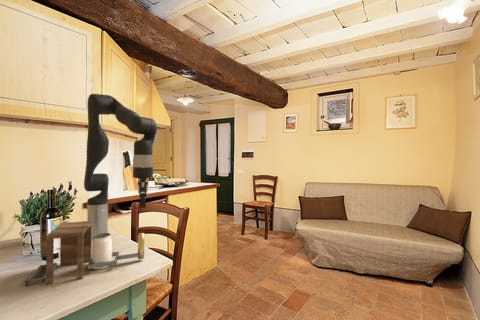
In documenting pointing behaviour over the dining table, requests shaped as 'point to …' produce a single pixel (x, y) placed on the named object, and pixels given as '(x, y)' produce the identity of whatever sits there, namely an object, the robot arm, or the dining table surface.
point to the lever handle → (109, 263)
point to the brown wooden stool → (70, 246)
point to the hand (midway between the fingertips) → (142, 205)
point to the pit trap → (38, 275)
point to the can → (101, 249)
